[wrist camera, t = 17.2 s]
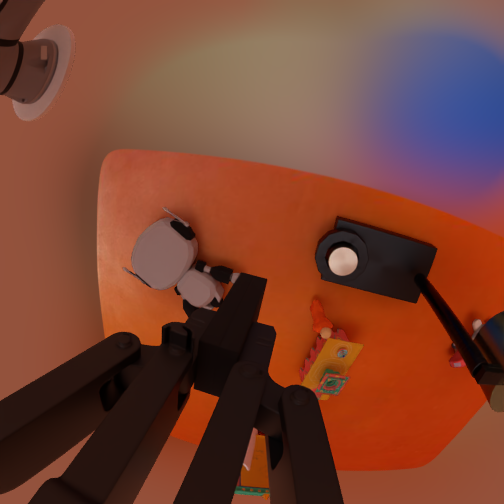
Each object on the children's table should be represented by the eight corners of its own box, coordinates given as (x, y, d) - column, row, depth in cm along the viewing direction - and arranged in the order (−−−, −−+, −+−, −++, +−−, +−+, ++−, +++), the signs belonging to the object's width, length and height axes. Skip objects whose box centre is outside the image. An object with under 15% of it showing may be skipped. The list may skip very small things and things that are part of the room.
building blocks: (231, 439, 49) (229, 498, 36) (304, 296, 38) (330, 368, 25) (288, 446, 51) (296, 502, 38) (378, 315, 40) (421, 379, 26)
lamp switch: (324, 266, 34) (324, 271, 33) (332, 239, 33) (333, 243, 32) (351, 273, 34) (352, 279, 32) (359, 247, 33) (361, 251, 31)
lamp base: (308, 270, 39) (307, 281, 35) (324, 212, 36) (325, 218, 32) (412, 296, 37) (419, 310, 33) (431, 244, 34) (442, 253, 30)
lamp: (403, 302, 33) (452, 412, 15) (424, 250, 31) (503, 335, 13) (460, 316, 32) (520, 411, 14) (481, 269, 29) (563, 347, 12)
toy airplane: (441, 355, 38) (453, 380, 32) (467, 308, 35) (484, 329, 29) (477, 361, 37) (489, 384, 31) (501, 318, 34) (518, 338, 28)
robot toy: (253, 268, 41) (172, 198, 39) (247, 283, 37) (158, 205, 35) (203, 318, 46) (132, 256, 44) (194, 334, 42) (117, 268, 40)
